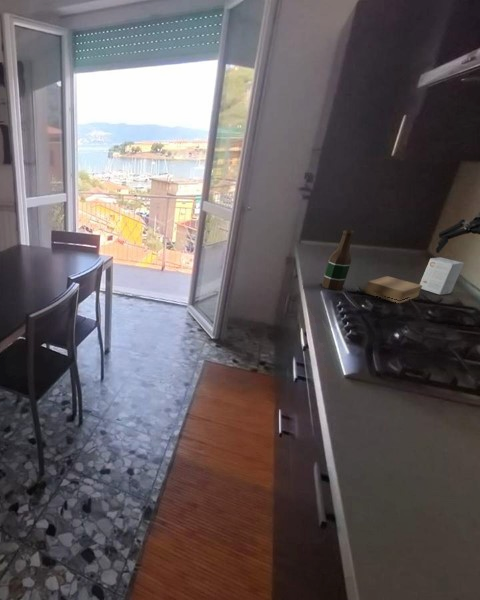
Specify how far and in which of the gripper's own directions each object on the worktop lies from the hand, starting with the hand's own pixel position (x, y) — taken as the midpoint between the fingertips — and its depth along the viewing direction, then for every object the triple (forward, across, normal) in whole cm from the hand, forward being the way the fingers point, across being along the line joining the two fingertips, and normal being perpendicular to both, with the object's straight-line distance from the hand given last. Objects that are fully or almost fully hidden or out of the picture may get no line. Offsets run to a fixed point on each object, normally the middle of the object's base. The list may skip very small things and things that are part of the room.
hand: (458, 255), depth 145 cm
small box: (+16, 0, -4) cm, 17 cm away
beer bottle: (+40, +21, +20) cm, 50 cm away
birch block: (+31, +6, +12) cm, 34 cm away
